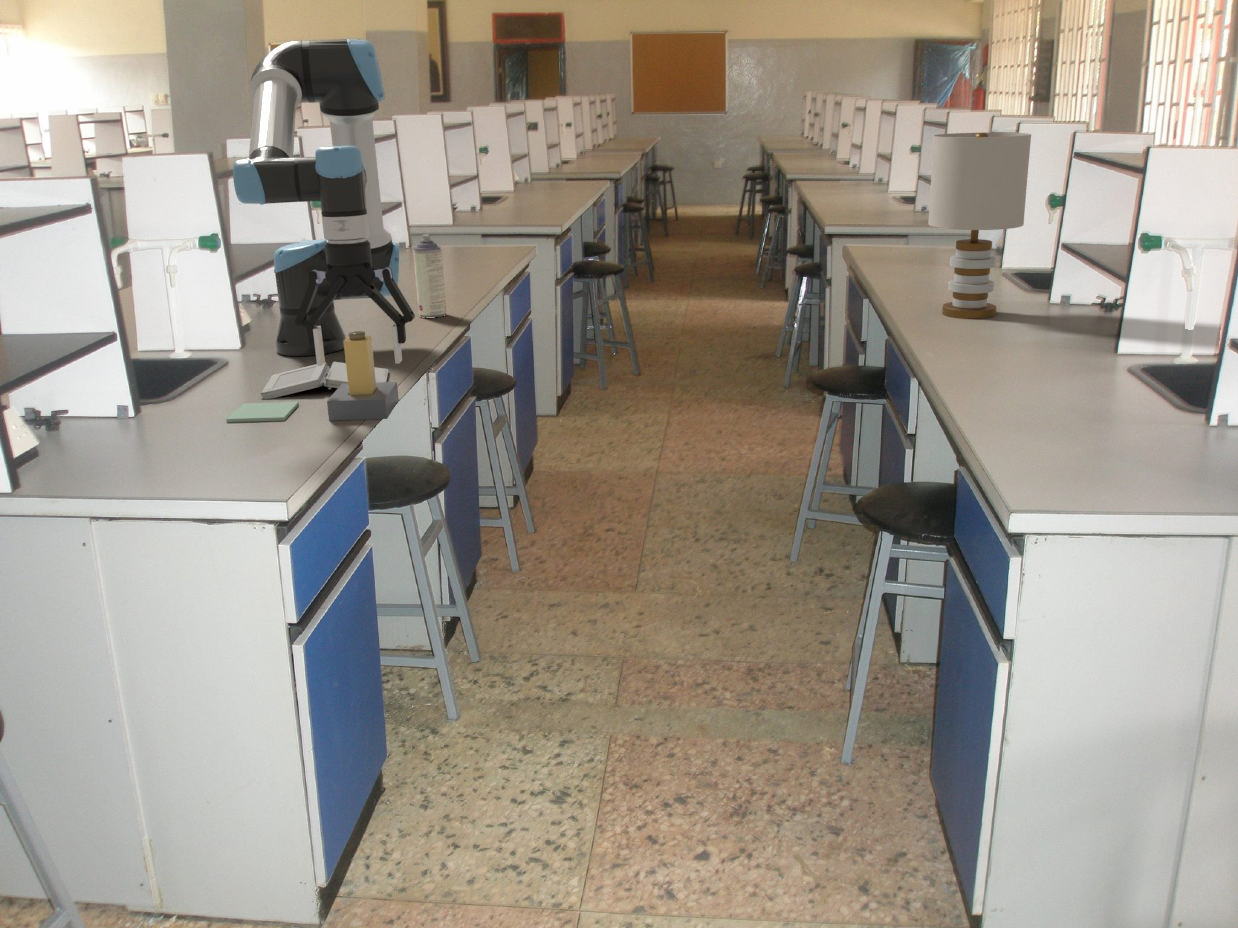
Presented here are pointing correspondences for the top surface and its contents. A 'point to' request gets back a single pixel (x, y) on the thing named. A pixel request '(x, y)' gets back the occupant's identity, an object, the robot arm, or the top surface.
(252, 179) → the robot arm
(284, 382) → the gadget
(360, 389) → the plug
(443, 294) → the aerosol can
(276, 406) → the mat
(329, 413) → the grey block with hole
